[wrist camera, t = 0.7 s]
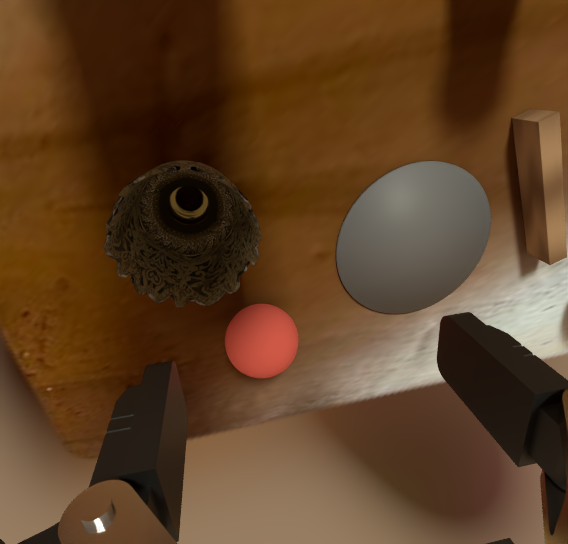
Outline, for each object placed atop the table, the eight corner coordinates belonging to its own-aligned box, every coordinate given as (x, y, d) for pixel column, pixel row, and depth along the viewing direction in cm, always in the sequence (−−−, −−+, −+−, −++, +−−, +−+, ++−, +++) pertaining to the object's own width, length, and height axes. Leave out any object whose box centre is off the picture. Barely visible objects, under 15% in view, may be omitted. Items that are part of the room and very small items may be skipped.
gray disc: (302, 260, 30) (302, 261, 30) (426, 121, 27) (427, 122, 26) (404, 336, 35) (405, 337, 35) (517, 228, 32) (518, 229, 32)
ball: (208, 327, 31) (210, 374, 26) (252, 278, 30) (262, 317, 25) (261, 357, 33) (272, 405, 28) (303, 312, 32) (322, 354, 27)
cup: (167, 115, 23) (153, 133, 16) (265, 182, 26) (289, 221, 19) (110, 214, 25) (76, 268, 18) (208, 266, 28) (210, 329, 21)
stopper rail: (542, 245, 34) (566, 257, 31) (527, 252, 34) (549, 265, 31) (531, 108, 28) (559, 111, 25) (511, 118, 28) (538, 122, 26)
